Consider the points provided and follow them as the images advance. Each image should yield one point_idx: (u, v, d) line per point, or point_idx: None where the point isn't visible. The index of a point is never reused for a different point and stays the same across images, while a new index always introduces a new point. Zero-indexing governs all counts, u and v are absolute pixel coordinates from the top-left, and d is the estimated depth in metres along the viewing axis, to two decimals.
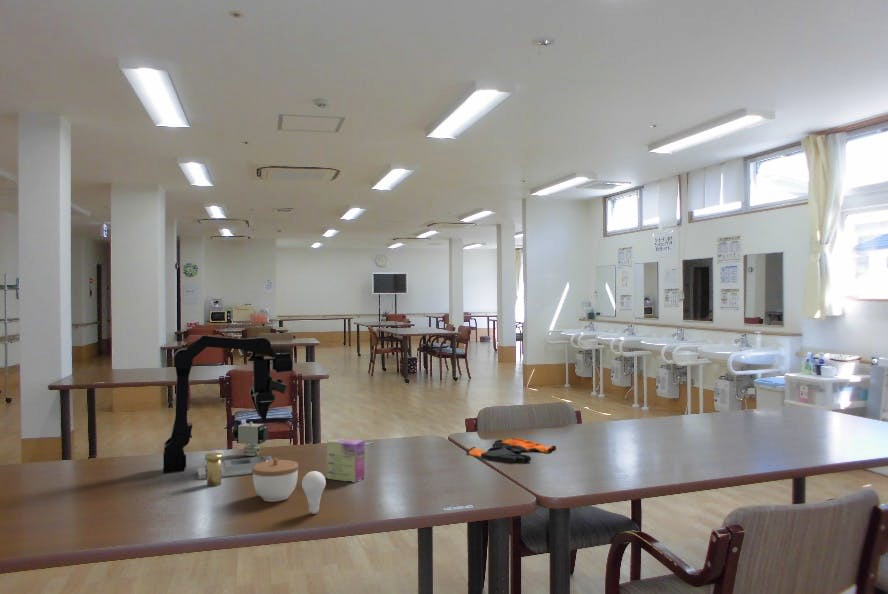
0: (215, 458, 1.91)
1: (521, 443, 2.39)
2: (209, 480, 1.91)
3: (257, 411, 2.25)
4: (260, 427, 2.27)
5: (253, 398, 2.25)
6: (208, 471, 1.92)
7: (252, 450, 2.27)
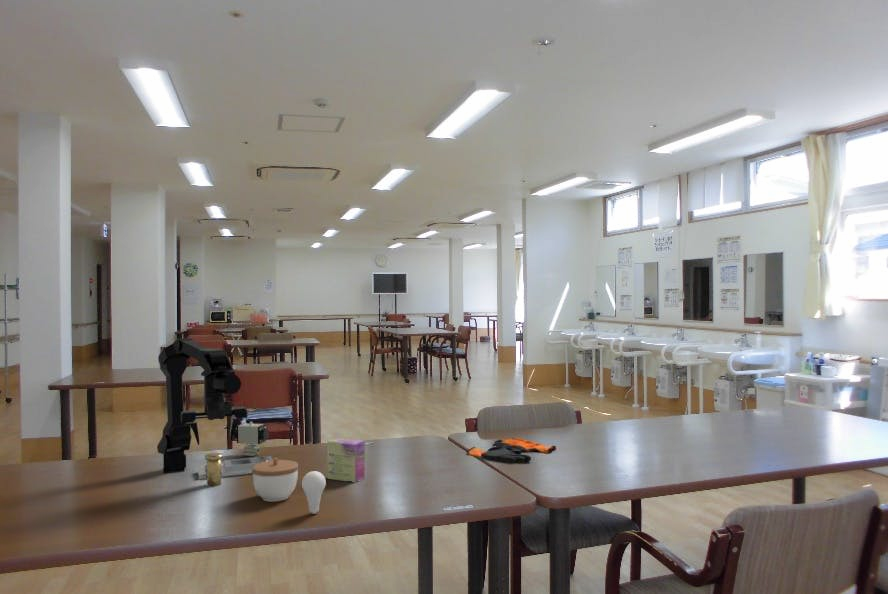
0: (215, 458, 1.91)
1: (521, 443, 2.39)
2: (209, 480, 1.91)
3: None
4: (260, 427, 2.27)
5: (231, 419, 1.98)
6: (208, 471, 1.92)
7: (252, 450, 2.27)
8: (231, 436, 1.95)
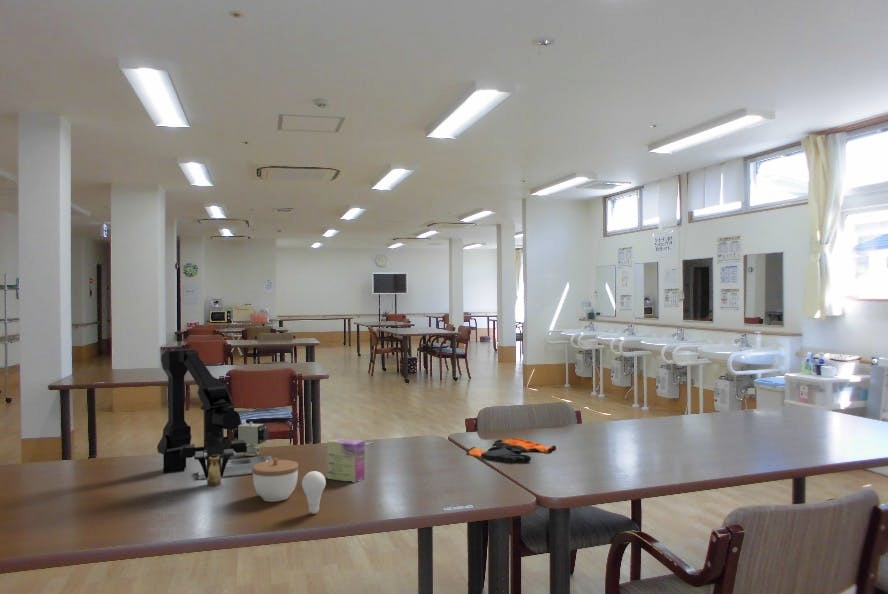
0: (215, 458, 1.91)
1: (521, 443, 2.39)
2: (209, 480, 1.91)
3: None
4: (260, 427, 2.27)
5: None
6: (208, 471, 1.92)
7: (252, 450, 2.27)
8: (222, 471, 1.93)
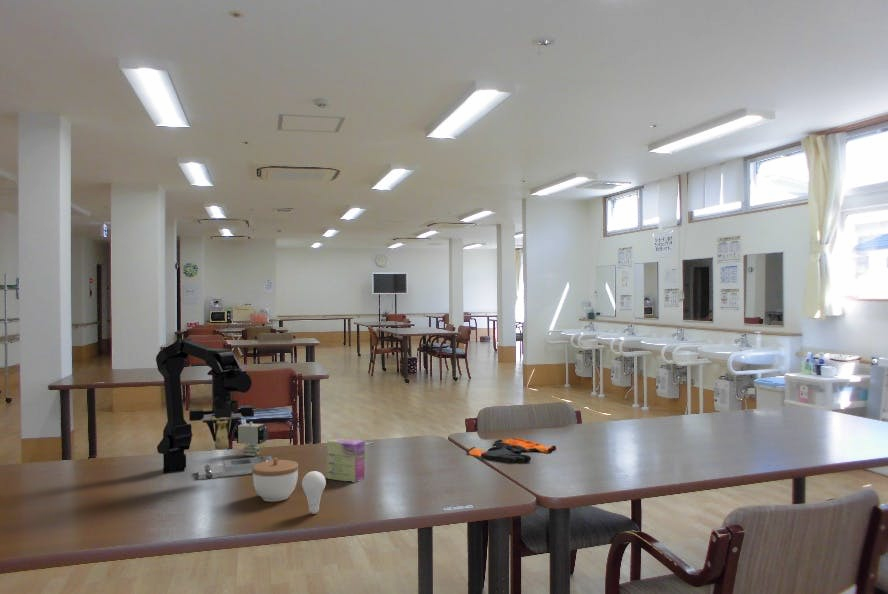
0: (223, 422, 1.95)
1: (521, 443, 2.39)
2: (217, 443, 1.96)
3: None
4: (260, 427, 2.27)
5: (230, 418, 2.01)
6: (216, 434, 1.96)
7: (252, 450, 2.27)
8: (230, 435, 1.98)
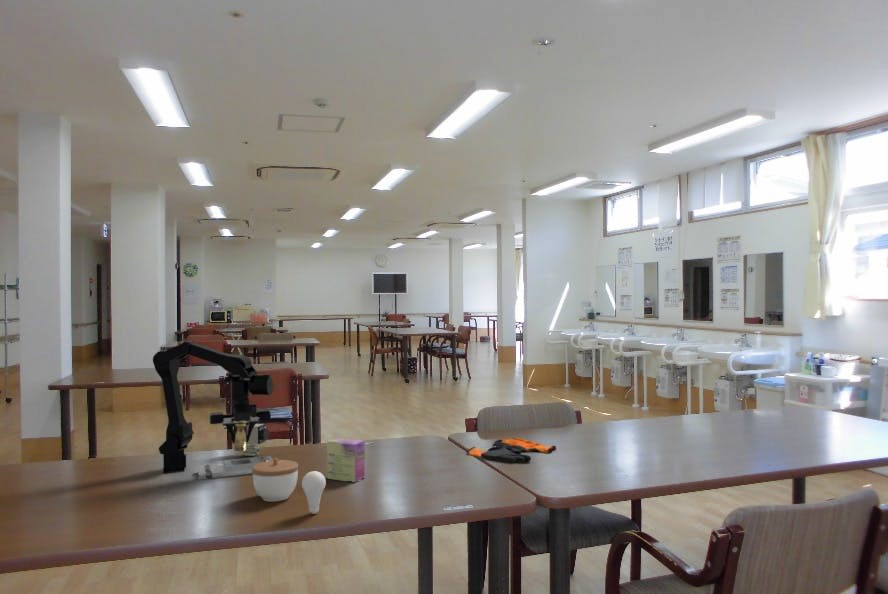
0: (242, 425, 2.06)
1: (521, 443, 2.39)
2: (236, 445, 2.06)
3: None
4: (260, 427, 2.27)
5: None
6: (235, 437, 2.06)
7: (252, 450, 2.27)
8: (248, 437, 2.08)
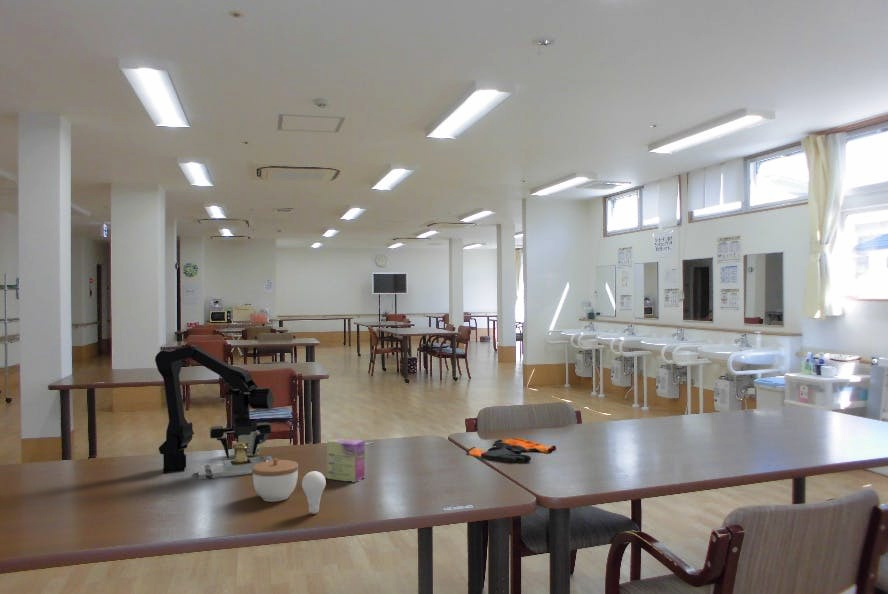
0: (242, 447, 2.06)
1: (521, 443, 2.39)
2: None
3: (252, 449, 2.10)
4: None
5: None
6: (235, 459, 2.06)
7: None
8: (254, 450, 2.09)
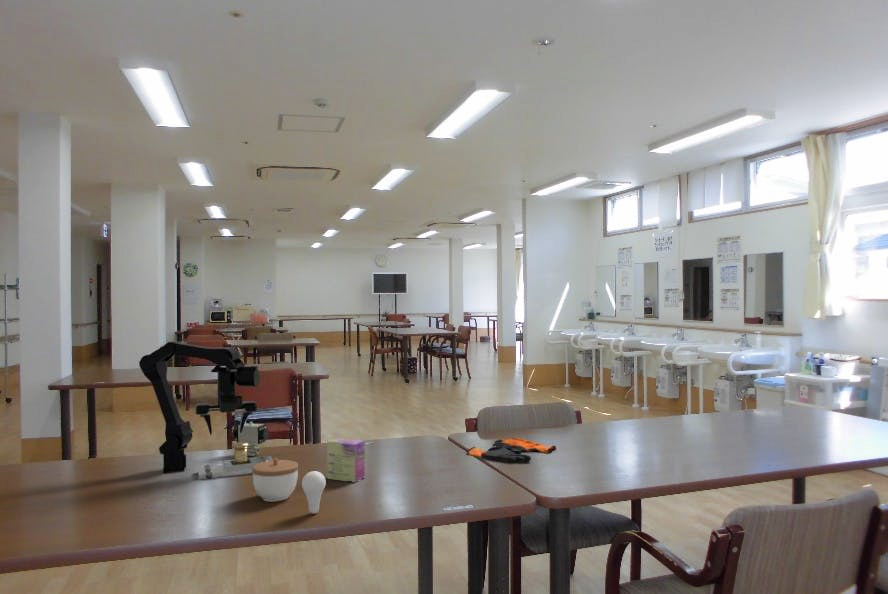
0: (242, 447, 2.06)
1: (521, 443, 2.39)
2: None
3: None
4: (260, 427, 2.27)
5: (241, 412, 2.13)
6: (235, 459, 2.06)
7: (252, 450, 2.27)
8: (241, 428, 2.10)
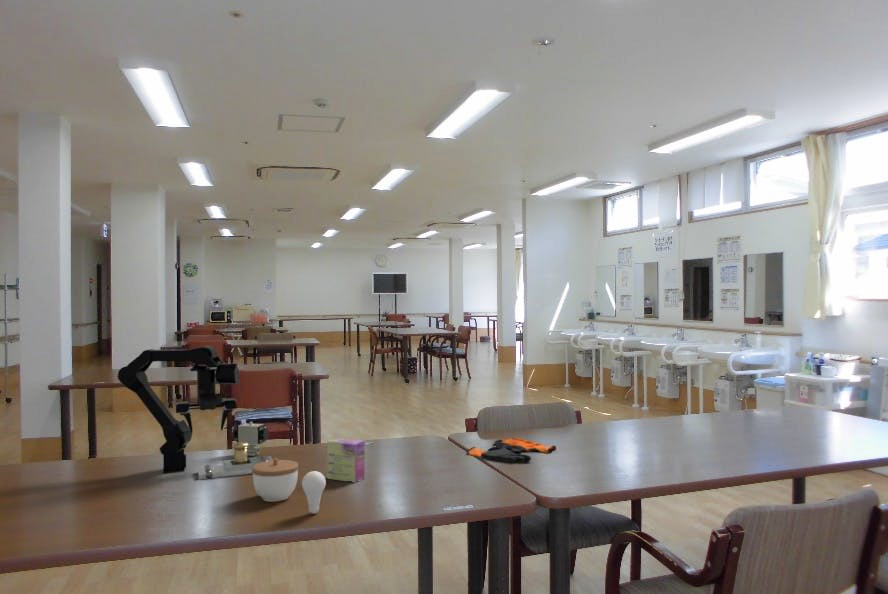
0: (242, 447, 2.06)
1: (521, 443, 2.39)
2: None
3: None
4: (260, 427, 2.27)
5: (222, 410, 2.14)
6: (235, 459, 2.06)
7: (252, 450, 2.27)
8: (222, 425, 2.11)
